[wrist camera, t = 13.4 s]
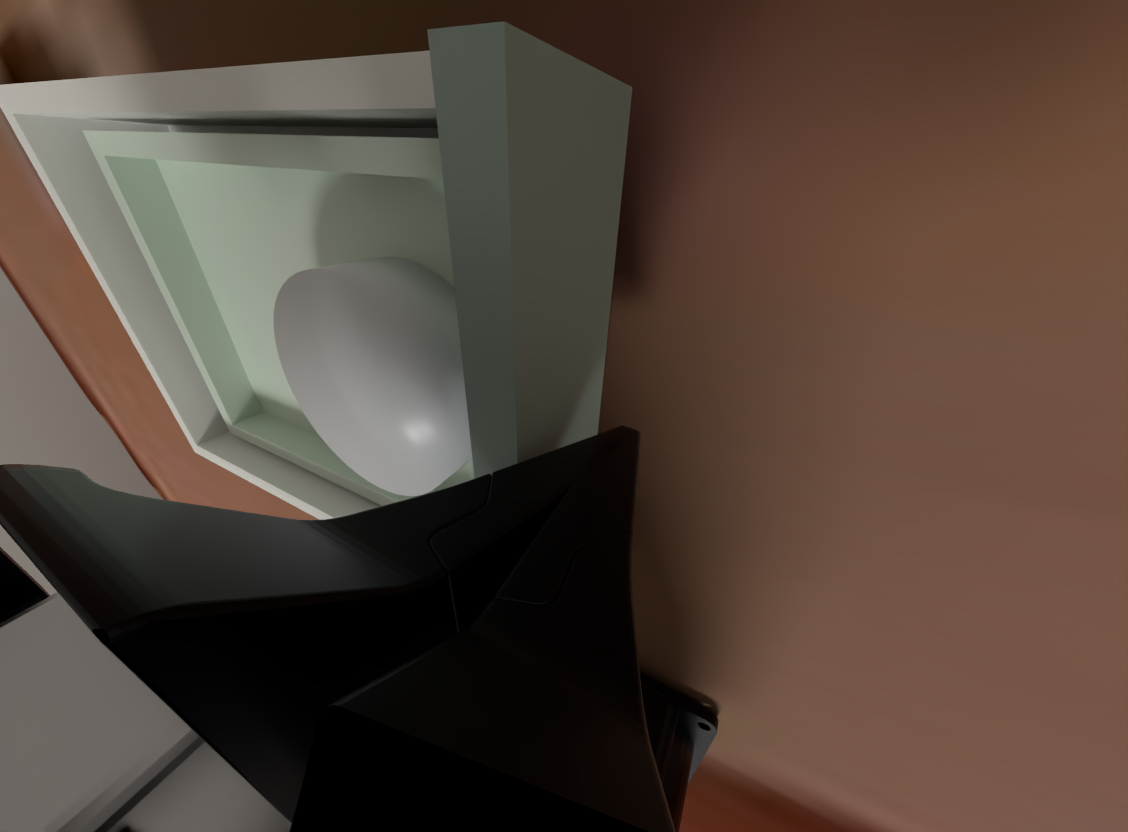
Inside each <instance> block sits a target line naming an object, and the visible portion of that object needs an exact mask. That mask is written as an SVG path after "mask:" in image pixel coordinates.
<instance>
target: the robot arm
mask: <svg viewBox="0 0 1128 832" xmlns="http://www.w3.org/2000/svg"><path fill="white" fill-rule="evenodd" d="M640 436H641V435H640V432H639V431H638V430H635V429H632V428H629V427H625V426H620V427H617V428H614V429H611V430H608V431H606V432H603V433H600V434H597V435H595V436H592V437H589V438H586V439H583V440H581V441H578V442H575V443H572V444H570V445H567V446H564V447H561V448H558V449H556V450H553V451H550V452H547V453H545V454H542V455H539V456H536V457H533V458H531V459H528V460H525V461H522V462H520V463H517V464H514V465H511V466H508V467H506V468H503V469H500V470H497V471H495V472H492V475H491V474H486V475H483V476H480V477H478V478H475V479H472V480H469V481H466V482H463V483H460V484H457V485H454V486H451V487H448V488H445V489H441V490H438V491H435V492H431V493H428V494H424V495H421V496H417V497H414V498H410V499H406V500H403V501H399V502H395V503H391V504H388V505H384V506H380V507H377V508H373V509H369V510H366V511H362V512H358V513H354V514H351V515H347V516H342V517H338V518H332V519H325V520H296V519H288V518H281V517H274V516H268V515H261V514H254V513H248V512H241V511H234V510H228V509H221V508H214V507H208V506H201V505H194V504H188V503H181V502H174V501H168V500H161V499H155V498H149V497H144V496H138V495H132V494H128V493H124V492H119V491H115V490H112V489H109V488H106V487H103V486H101V485H99V484H97V483H95V482H93V481H92V480H91V479H90V478H88V477H87V476H86V475H85V474H83V473H82V472H81V471H79V470H76V469H70V468H61V467H52V466H42V465H22V464H7V465H0V524H1V526H2V527H3V528H4V529H5V530H6V531H7V533H8V534H9V535H10V536H11V537H12V539H13V540H14V541H15V542H16V543H17V545H19V547H20V548H21V549H22V550H23V552H24V553H25V554H26V555H27V556H28V557H29V559H30V560H31V561H32V562H33V563H34V565H35V566H36V567H37V568H38V569H39V570H40V572H41V573H42V574H43V575H44V576H45V578H46V579H47V580H48V581H49V582H50V583H51V585H52V586H53V587H54V588H55V589H56V590H57V593H55V594H53V595H51V596H50V595H49V594H48V593H47V592H46V591H45V590H44V589H43V588H42V586H41V585H40V584H39V583H37V582H36V581H35V580H34V579H33V578H32V577H31V576H30V575H29V574H28V573H27V572H26V571H25V570H24V569H23V568H22V567H21V566H19V564H18V563H16V562H15V561H14V560H13V559H12V558H11V557H10V556H9V555H8V554H7V553H6V552H5V551H4V550H3V549H2V548H1V547H0V832H679V827H680V822H681V817H682V811H683V806H684V800H685V795H686V790H687V784H688V783H689V782H690V780H691V778H692V776H693V775H694V773H695V771H696V769H697V767H698V766H699V764H700V762H701V760H702V759H703V757H704V755H705V753H706V751H707V750H708V748H709V746H710V744H711V743H712V741H713V739H714V737H715V735H716V734H717V728H718V719H717V717H716V716H715V715H714V714H713V713H711V712H710V711H708V710H706V709H704V708H702V707H700V706H698V705H696V704H694V703H693V702H691V701H689V700H687V699H685V698H683V697H681V696H679V695H677V694H675V693H673V692H671V691H670V690H668V689H666V688H664V687H662V686H660V685H658V684H656V683H654V682H652V681H650V680H649V679H647V678H645V677H643V676H641V675H640V670H639V660H638V651H637V641H636V631H635V621H634V611H633V598H632V582H631V567H632V544H633V537H632V536H633V527H634V513H635V499H636V485H637V471H638V457H639V443H640Z"/></svg>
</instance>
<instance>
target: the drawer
mask: <svg viewBox="0 0 1128 832" xmlns="http://www.w3.org/2000/svg"><path fill="white" fill-rule="evenodd" d="M427 32H428V41H429V51H430V60H431V70H432V79H433V89H434V98H435V108H436V117H437V127H438V136H439V138H402V137H358V136H314V135H269V134H225V133H180V132H136V131H92V130H82V131H83V133H84V135H85V137H86V139H87V141H88V143H89V146H90V148H91V150H92V152H93V154H94V156H95V158H96V160H97V162H98V164H99V166H100V168H101V170H102V172H103V174H104V176H105V178H106V180H107V182H108V184H109V186H110V188H111V190H112V193H113V195H114V197H115V199H116V201H117V203H118V205H119V207H120V209H121V211H122V213H123V215H124V217H125V219H126V221H127V223H128V225H129V227H130V229H131V231H132V233H133V235H134V237H135V239H136V242H137V244H138V246H139V248H140V250H141V252H142V254H143V256H144V258H145V260H146V262H147V264H148V266H149V268H150V270H151V272H152V274H153V276H154V278H155V280H156V282H157V284H158V286H159V289H160V291H161V293H162V295H163V297H164V299H165V301H166V303H167V305H168V307H169V309H170V311H171V313H172V315H173V317H174V319H175V321H176V323H177V325H178V327H179V329H180V331H181V333H182V335H183V338H184V340H185V342H186V344H187V346H188V348H189V350H190V352H191V354H192V356H193V358H194V360H195V362H196V364H197V366H198V368H199V370H200V372H201V374H202V376H203V378H204V380H205V382H206V385H207V387H208V389H209V391H210V393H211V395H212V397H213V399H214V401H215V403H216V405H217V407H218V409H219V411H220V413H221V415H222V417H223V419H224V421H225V423H226V425H227V427H228V429H229V431H230V433H232V434H234V435H236V436H238V437H240V438H242V439H244V440H246V441H248V442H250V443H252V444H255V445H257V446H259V447H261V448H263V449H265V450H267V451H269V452H271V453H273V454H275V455H277V456H279V457H282V458H284V459H286V460H288V461H290V462H292V463H294V464H296V465H298V466H300V467H302V468H304V469H307V470H309V471H311V472H313V473H315V474H317V475H319V476H321V477H323V478H325V479H327V480H329V481H332V482H334V483H336V484H338V485H340V486H342V487H344V488H346V489H348V490H350V491H352V492H354V493H357V494H359V495H361V496H363V497H365V498H367V499H369V500H371V501H373V502H375V503H377V504H379V505H381V506H384V505H388V504H391V503H395V502H399V501H403V500H406V499H410V498H414V497H417V496H404V495H398V494H395V493H392V492H388V491H386V490H384V489H382V488H379V487H377V486H376V485H374V484H372V483H370V482H369V481H367V480H366V479H364V478H363V477H361V476H360V475H358V474H357V473H356V472H355V471H353V470H352V469H351V468H350V467H348V466H347V465H346V464H345V463H344V462H343V461H342V460H341V459H340V458H339V457H338V456H337V455H336V454H335V453H334V452H333V451H332V450H331V449H330V448H329V447H328V445H327V444H326V443H325V442H324V441H323V439H322V438H321V437H320V436H319V434H318V433H317V432H316V430H315V429H314V428H313V426H312V425H311V423H310V422H309V420H308V419H307V417H306V416H305V414H304V412H303V411H302V409H301V407H300V406H299V404H298V402H297V400H296V398H295V396H294V394H293V392H292V390H291V388H290V386H289V384H288V381H287V379H286V377H285V374H284V371H283V368H282V366H281V362H280V359H279V355H278V352H277V347H276V342H275V335H274V307H275V302H276V298H277V295H278V293H279V291H280V289H281V287H282V285H283V284H284V283H285V282H286V280H287V279H288V278H289V277H291V276H292V275H294V274H295V273H297V272H301V271H304V270H308V269H314V268H320V267H326V266H331V265H337V264H343V263H349V262H355V261H361V260H367V259H373V258H379V257H390V256H392V257H400V258H405V259H408V260H411V261H414V262H416V263H419V264H421V265H423V266H425V267H427V268H428V269H430V270H431V271H433V272H434V273H436V274H437V275H439V276H440V277H441V278H443V279H444V280H445V281H446V282H447V283H448V284H450V285H451V286H452V287H453V288H454V289H455V298H456V307H457V317H458V326H459V336H460V345H461V355H462V364H463V374H464V383H465V393H466V402H467V412H468V421H469V431H470V440H471V450H472V459H471V460H469V461H468V462H467V463H466V464H464V465H463V466H462V467H461V468H460V469H458V470H457V471H456V472H455V473H453V474H452V475H451V476H450V477H448V478H447V479H446V480H445V481H444V482H442V483H441V484H440V485H439V486H437V487H436V488H435V489H433V490H432V491H431V492H435V491H438V490H441V489H445V488H448V487H451V486H454V485H457V484H460V483H463V482H466V481H469V480H472V479H475V478H478V477H480V476H483V475H486V474H491V475H492V472H495V471H497V470H500V469H503V468H506V467H508V466H511V465H514V464H517V463H520V462H522V461H525V460H528V459H531V458H533V457H536V456H539V455H542V454H545V453H547V452H550V451H553V450H556V449H558V448H561V447H564V446H567V445H570V444H572V443H575V442H578V441H581V440H583V439H586V438H589V437H592V436H595V435H597V434H598V426H599V416H600V406H601V396H602V386H603V376H604V366H605V356H606V346H607V336H608V327H609V317H610V307H611V297H612V287H613V277H614V267H615V257H616V247H617V237H618V227H619V217H620V207H621V197H622V187H623V177H624V167H625V157H626V147H627V137H628V127H629V117H630V107H631V97H632V87H631V86H629V85H627V84H625V83H623V82H621V81H619V80H617V79H615V78H614V77H612V76H610V75H608V74H606V73H604V72H602V71H600V70H598V69H596V68H594V67H592V66H590V65H588V64H586V63H584V62H582V61H581V60H579V59H577V58H575V57H573V56H571V55H569V54H567V53H565V52H563V51H561V50H559V49H557V48H555V47H553V46H551V45H549V44H547V43H546V42H544V41H542V40H540V39H538V38H536V37H534V36H532V35H530V34H528V33H526V32H524V31H522V30H520V29H518V28H516V27H514V26H513V25H511V24H509V23H507V22H505V21H502V22H492V23H483V24H473V25H464V26H454V27H445V28H435V29H427ZM431 492H428V493H431ZM428 493H426V494H428ZM423 495H424V494H423ZM418 496H421V495H418Z"/></svg>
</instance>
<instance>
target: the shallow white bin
mask: <svg viewBox="0 0 1128 832" xmlns="http://www.w3.org/2000/svg"><path fill="white" fill-rule="evenodd" d="M0 107H1V109H2V111H3V113H4V114H5V116H6V118H7V120H8V121H9V123H10V125H11V127H12V129H13V130H14V132H15V134H16V136H17V137H18V139H19V141H20V143H21V145H22V146H23V148H24V150H25V152H26V153H27V155H28V157H29V159H30V160H31V162H32V164H33V166H34V168H35V169H36V171H37V173H38V175H39V176H40V178H41V180H42V182H43V184H44V185H45V187H46V189H47V191H48V192H49V194H50V196H51V198H52V200H53V201H54V203H55V205H56V207H57V208H58V210H59V212H60V214H61V215H62V217H63V219H64V221H65V223H66V224H67V226H68V228H69V230H70V231H71V233H72V235H73V237H74V239H75V240H76V242H77V244H78V246H79V247H80V249H81V251H82V253H83V255H84V256H85V258H86V260H87V262H88V263H89V265H90V267H91V269H92V270H93V272H94V274H95V276H96V278H97V279H98V281H99V283H100V285H101V286H102V288H103V290H104V292H105V294H106V295H107V297H108V299H109V301H110V302H111V304H112V306H113V308H114V310H115V311H116V313H117V315H118V317H119V318H120V320H121V322H122V324H123V325H124V327H125V329H126V331H127V333H128V334H129V336H130V338H131V340H132V341H133V343H134V345H135V347H136V349H137V350H138V352H139V354H140V356H141V357H142V359H143V361H144V363H145V365H146V366H147V368H148V370H149V372H150V373H151V375H152V377H153V379H154V380H155V382H156V384H157V386H158V388H159V389H160V391H161V393H162V395H163V396H164V398H165V400H166V402H167V404H168V405H169V407H170V409H171V411H172V412H173V414H174V416H175V418H176V420H177V421H178V423H179V425H180V427H181V428H182V430H183V432H184V434H185V435H186V437H187V439H188V441H189V443H190V444H191V446H192V448H193V450H194V451H195V453H197V454H199V455H201V456H203V457H205V458H206V459H208V460H210V461H212V462H214V463H216V464H218V465H219V466H221V467H223V468H225V469H227V470H229V471H231V472H232V473H234V474H236V475H238V476H240V477H242V478H244V479H245V480H247V481H249V482H251V483H253V484H255V485H256V486H258V487H260V488H262V489H264V490H266V491H268V492H269V493H271V494H273V495H275V496H277V497H279V498H281V499H282V500H284V501H286V502H288V503H290V504H292V505H294V506H295V507H297V508H299V509H301V510H303V511H305V512H307V513H308V514H310V515H312V516H314V517H316V518H318V519H320V520H325V519H332V518H338V517H342V516H347V515H351V514H354V513H358V512H362V511H366V510H369V509H373V508H377V507H380V506H381V505H379V504H377V503H375V502H373V501H371V500H369V499H367V498H365V497H363V496H361V495H359V494H357V493H354V492H352V491H350V490H348V489H346V488H344V487H342V486H340V485H338V484H336V483H334V482H332V481H329V480H327V479H325V478H323V477H321V476H319V475H317V474H315V473H313V472H311V471H309V470H307V469H304V468H302V467H300V466H298V465H296V464H294V463H292V462H290V461H288V460H286V459H284V458H282V457H279V456H277V455H275V454H273V453H271V452H269V451H267V450H265V449H263V448H261V447H259V446H257V445H255V444H252V443H250V442H248V441H246V440H244V439H242V438H240V437H238V436H236V435H234V434H232V433H230V431H229V429H228V427H227V425H226V423H225V421H224V419H223V417H222V415H221V413H220V411H219V409H218V407H217V405H216V403H215V401H214V399H213V397H212V395H211V393H210V391H209V389H208V387H207V385H206V382H205V380H204V378H203V376H202V374H201V372H200V370H199V368H198V366H197V364H196V362H195V360H194V358H193V356H192V354H191V352H190V350H189V348H188V346H187V344H186V342H185V340H184V338H183V335H182V333H181V331H180V329H179V327H178V325H177V323H176V321H175V319H174V317H173V315H172V313H171V311H170V309H169V307H168V305H167V303H166V301H165V299H164V297H163V295H162V293H161V291H160V289H159V286H158V284H157V282H156V280H155V278H154V276H153V274H152V272H151V270H150V268H149V266H148V264H147V262H146V260H145V258H144V256H143V254H142V252H141V250H140V248H139V246H138V244H137V242H136V239H135V237H134V235H133V233H132V231H131V229H130V227H129V225H128V223H127V221H126V219H125V217H124V215H123V213H122V211H121V209H120V207H119V205H118V203H117V201H116V199H115V197H114V195H113V193H112V190H111V188H110V186H109V184H108V182H107V180H106V178H105V176H104V174H103V172H102V170H101V168H100V166H99V164H98V162H97V160H96V158H95V156H94V154H93V152H92V150H91V148H90V146H89V143H88V141H87V139H86V137H85V135H84V133H83V131H82V130H92V131H136V132H180V133H225V134H269V135H314V136H358V137H402V138H439V136H438V127H437V117H436V108H435V98H434V89H433V79H432V70H431V60H430V51H418V52H406V53H393V54H381V55H368V56H356V57H343V58H331V59H318V60H306V61H293V62H281V63H268V64H256V65H243V66H231V67H218V68H206V69H193V70H181V71H168V72H156V73H143V74H131V75H119V76H106V77H94V78H81V79H69V80H56V81H44V82H31V83H19V84H6V85H0Z"/></svg>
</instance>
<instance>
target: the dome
mask: <svg viewBox="0 0 1128 832" xmlns="http://www.w3.org/2000/svg"><path fill="white" fill-rule="evenodd" d="M274 335H275V342H276V347H277V352H278V355H279V359H280V362H281V366H282V368H283V371H284V374H285V377H286V379H287V381H288V384H289V386H290V388H291V390H292V392H293V394H294V396H295V398H296V400H297V402H298V404H299V406H300V407H301V409H302V411H303V412H304V414H305V416H306V417H307V419H308V420H309V422H310V423H311V425H312V426H313V428H314V429H315V430H316V432H317V433H318V434H319V436H320V437H321V438H322V439H323V441H324V442H325V443H326V444H327V445H328V447H329V448H330V449H331V450H332V451H333V452H334V453H335V454H336V455H337V456H338V457H339V458H340V459H341V460H342V461H343V462H344V463H345V464H346V465H347V466H348V467H350V468H351V469H352V470H353V471H355V472H356V473H357V474H358V475H360V476H361V477H363V478H364V479H366V480H367V481H369V482H370V483H372V484H374V485H376V486H377V487H379V488H382V489H384V490H386V491H388V492H392V493H395V494H398V495H404V496H418V495H423V494H426V493H428V492H431V491H432V490H433V489H435V488H436V487H437V486H439V485H440V484H441V483H442V482H444V481H445V480H446V479H447V478H448V477H450V476H451V475H452V474H453V473H455V472H456V471H457V470H458V469H460V468H461V467H462V466H463V465H464V464H466V463H467V462H468V461H469V460H471V459H472V450H471V440H470V431H469V421H468V412H467V402H466V393H465V383H464V374H463V364H462V355H461V345H460V336H459V326H458V317H457V307H456V298H455V289H454V288H453V287H452V286H451V285H450V284H448V283H447V282H446V281H445V280H444V279H443V278H441V277H440V276H439V275H437V274H436V273H434V272H433V271H431V270H430V269H428V268H427V267H425V266H423V265H421V264H419V263H416V262H414V261H411V260H408V259H405V258H400V257H392V256H390V257H379V258H373V259H367V260H361V261H355V262H349V263H343V264H337V265H331V266H326V267H320V268H314V269H308V270H304V271H301V272H297V273H295V274H294V275H292V276H291V277H289V278H288V279H287V280H286V282H285V283H284V284H283V285H282V287H281V289H280V291H279V293H278V295H277V298H276V302H275V307H274Z"/></svg>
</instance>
